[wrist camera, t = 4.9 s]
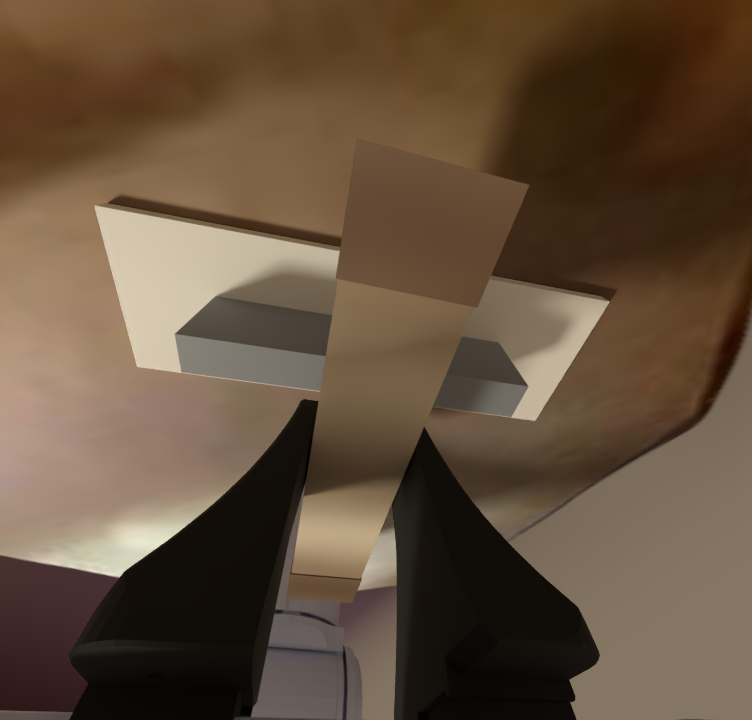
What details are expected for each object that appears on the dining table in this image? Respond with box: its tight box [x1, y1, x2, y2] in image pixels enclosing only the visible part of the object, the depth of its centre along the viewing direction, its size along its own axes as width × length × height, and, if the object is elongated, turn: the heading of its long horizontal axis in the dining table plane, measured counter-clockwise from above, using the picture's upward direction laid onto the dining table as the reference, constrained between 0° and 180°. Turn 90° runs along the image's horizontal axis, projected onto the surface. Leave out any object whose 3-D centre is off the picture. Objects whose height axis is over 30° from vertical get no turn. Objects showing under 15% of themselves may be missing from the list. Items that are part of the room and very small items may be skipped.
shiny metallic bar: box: [286, 139, 529, 603], centre depth 12 cm, size 18×3×4 cm, turn 168°
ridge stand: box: [94, 203, 609, 421], centre depth 17 cm, size 9×26×5 cm, turn 79°
